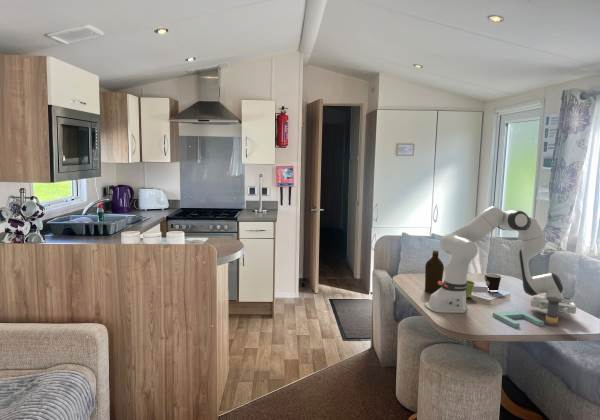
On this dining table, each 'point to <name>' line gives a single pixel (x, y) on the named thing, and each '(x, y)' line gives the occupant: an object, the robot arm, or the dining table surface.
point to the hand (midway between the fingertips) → (552, 309)
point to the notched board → (510, 315)
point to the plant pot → (469, 288)
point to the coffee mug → (492, 281)
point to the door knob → (552, 311)
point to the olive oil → (433, 273)
